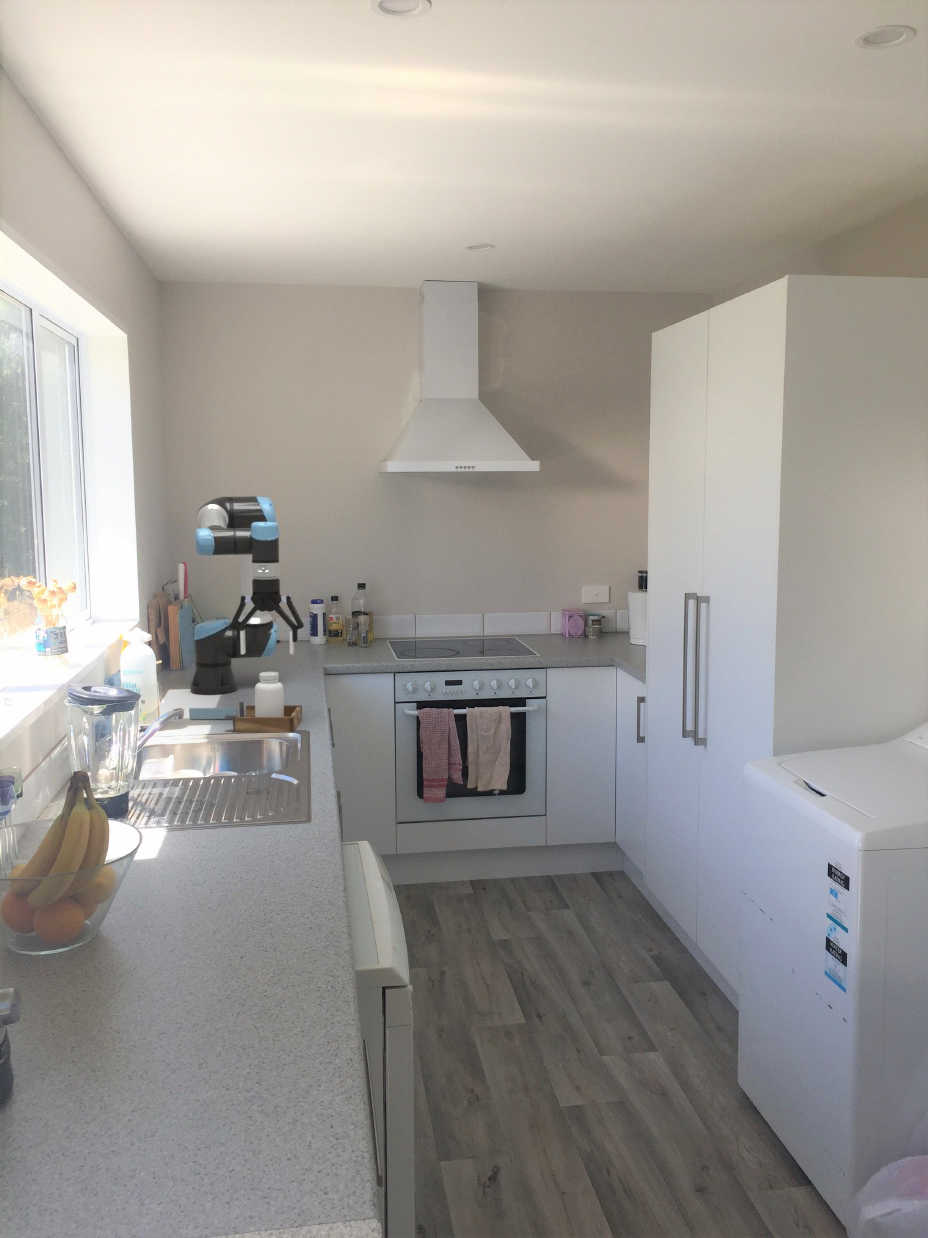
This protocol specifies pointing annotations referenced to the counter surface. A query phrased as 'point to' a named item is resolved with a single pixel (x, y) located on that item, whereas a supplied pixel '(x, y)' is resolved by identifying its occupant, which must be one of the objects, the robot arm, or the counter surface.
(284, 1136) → the counter surface
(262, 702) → the pill bottle
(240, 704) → the tray
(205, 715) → the gate
